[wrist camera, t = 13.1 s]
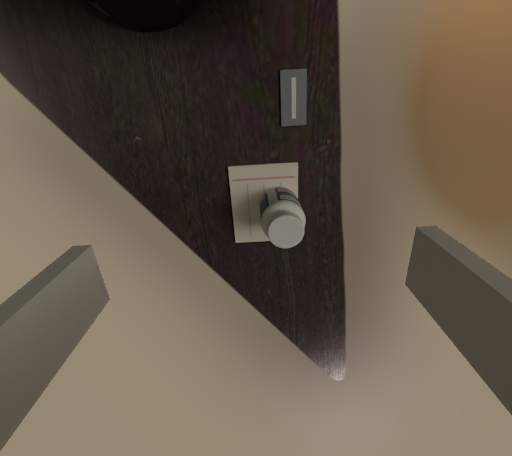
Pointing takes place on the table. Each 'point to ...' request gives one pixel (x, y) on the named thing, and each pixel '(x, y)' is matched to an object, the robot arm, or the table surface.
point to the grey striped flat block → (293, 97)
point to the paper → (256, 194)
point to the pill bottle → (282, 217)
